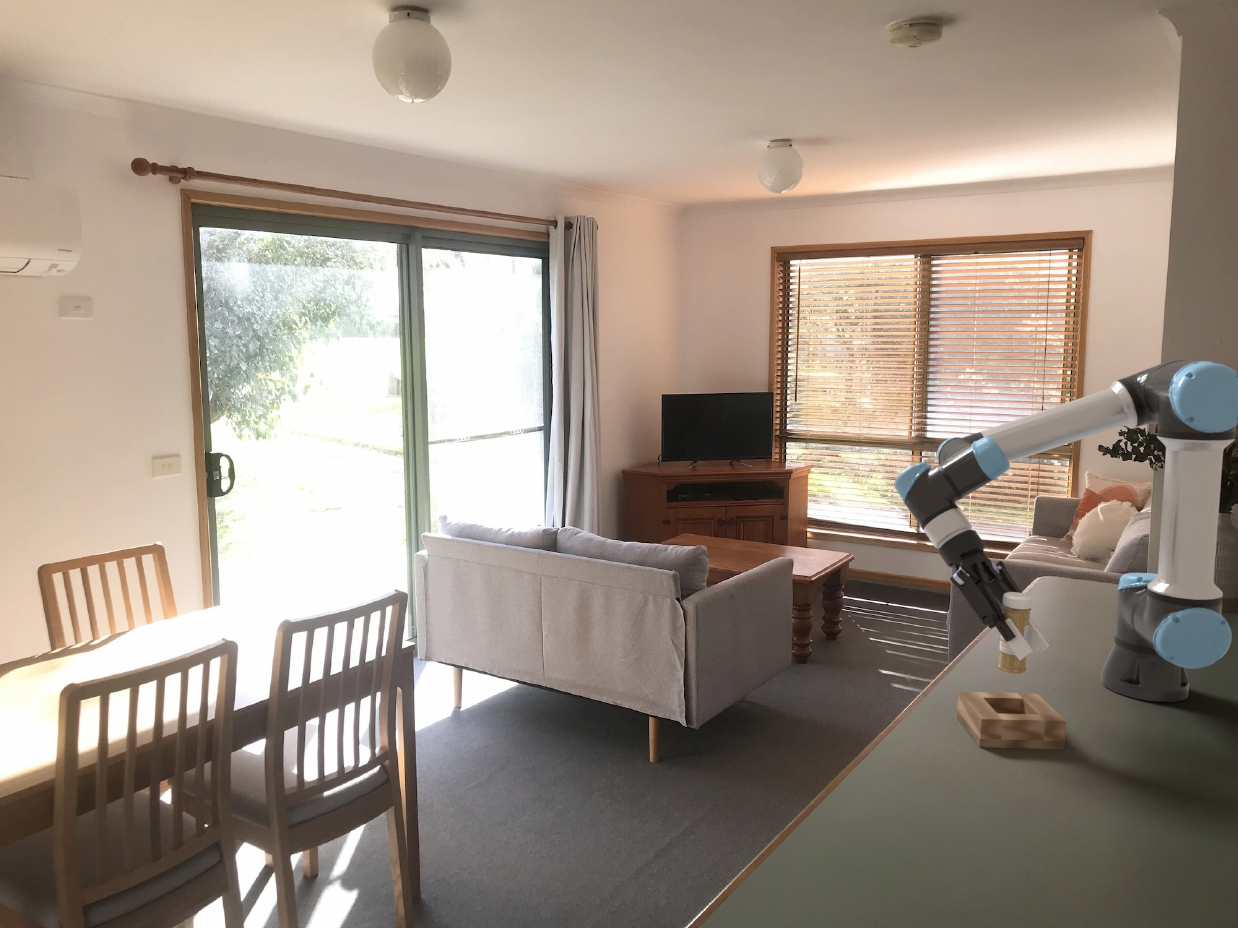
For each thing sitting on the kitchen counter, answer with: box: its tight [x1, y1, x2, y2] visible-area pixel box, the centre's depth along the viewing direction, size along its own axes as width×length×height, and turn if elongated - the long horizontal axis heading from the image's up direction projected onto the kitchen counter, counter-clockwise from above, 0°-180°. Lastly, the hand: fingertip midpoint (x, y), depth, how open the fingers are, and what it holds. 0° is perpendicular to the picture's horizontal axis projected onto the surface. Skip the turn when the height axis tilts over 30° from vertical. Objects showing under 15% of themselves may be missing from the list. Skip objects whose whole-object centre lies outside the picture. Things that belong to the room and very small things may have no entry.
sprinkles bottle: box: [997, 592, 1033, 675], centre depth 158 cm, size 5×5×13 cm
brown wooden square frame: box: [956, 691, 1067, 750], centre depth 160 cm, size 14×12×5 cm
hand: (1034, 652), depth 155 cm, fingers closed on sprinkles bottle, 4 cm apart
